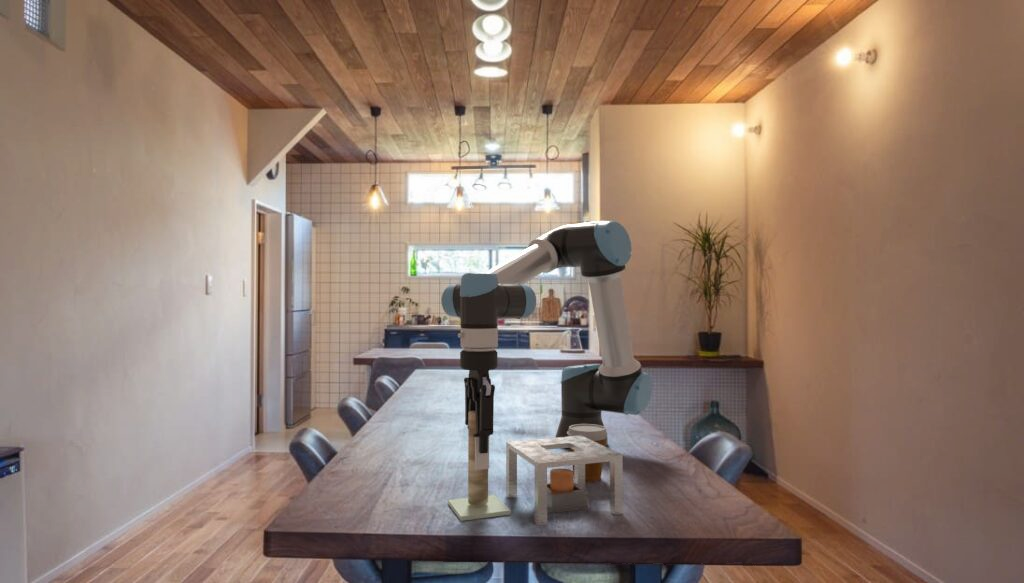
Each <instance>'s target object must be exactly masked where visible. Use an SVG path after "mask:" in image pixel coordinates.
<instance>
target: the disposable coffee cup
mask: <svg viewBox="0 0 1024 583" xmlns="http://www.w3.org/2000/svg"><path fill="white" fill-rule="evenodd" d="M567 434H568V437H569V436H581V435H582V436H584V437H586V438H588V439H590V440H592V441H594V442H596V443H598V444H601V445H603V446H605V440H606V437H607V438H608V434H609V433H608V432H607V428H606V426H605V425H604V426H600V425H595V424H576V425H571V426H569V430H568V431H567ZM570 452H574V450H573V449H572V448H570ZM603 463H604V462H599V463H589V464H585V483H589V484H590V483H597V482H599V481H601V478H602V472H603V471H602V470H603ZM571 467H572V471H573V472H574V465H571Z"/></svg>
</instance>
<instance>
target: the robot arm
mask: <svg viewBox="0 0 1024 583" xmlns="http://www.w3.org/2000/svg"><path fill="white" fill-rule="evenodd" d="M631 252H632V241H631V237H630V236H629V233H628V231H627V229H626V228H625V226H624V225H622V224H621V223H620V222H618V221H617V220H596V221H587V222H580V223H579V222H578V223H569V224H565V225H561V226H558V227H556V228H554V229H551V230H549V231H548V232H545V233H544V234H542V235H540V236H538V237H537V238H535V239H533V240H532V241H531V242H530V243H529V244H528V246H527V248H525V249H524V250H521V251H519V252H518V253H517V254H514V255H513V256H511V257H510V258H507V259H505V260H504V261H501V263H499V264H496V266H493V267H492V268H489V269H488V270H487V271H485V272H466V273H464V274H462V275H461V278H460V284H459V283H456V284H453V285H449V286H447V287H446V288H445V289H444V291H443V292H442V294H441V298H440V300H441V301H440V302H441V307H442V309H443V312H444V313H445V314H446V315H448V316H450V317H452V318H459V319H460V332H459V333H457V337H458V338H460V347H461V349H462V350H460V354H459V355H460V356H459V358H460V359H459V361H460V363H459V367H460V369H462V370H464V371H465V370H467V371H468V377H464V379H463V381H464V382H463V383H464V395H465V396H464V411H465V413H464V414H465V415H464V416H465V419H464V420H465V421H464V424H465V426H468V413H469V411H475V410H476V429H477V434H473V436H474V437H475V469H476V470H480V469H488V470H489V469H490V436H491V435H494V412H495V410H494V403H495V402H494V400H495V399H494V397H495V390H496V385H494V384H492V379H491V378H490V374H489V371H491V370H492V371H493V370H496V369H497V368H498V351H497V350H496V349H497V348H498V347H499V328H498V320H499V319H500V320H502V319H503V320H504V319H505V320H509V319H510V320H512V319H514V320H516V319H517V320H521V319H524V318H525V319H526V318H528V317H530V316H532V314H533V313H534V311H535V310H536V307H537V296H536V295H537V294H536V293H535V291H534V290H533V289H532V287H530V286H528V285H526V283H528V282H530V281H531V280H532V279H534V278H536V277H537V276H540V275H541V274H542V273H543V274H544V273H545V274H547V273H551V272H553V271H554V270H556V269H560V268H571V267H572V268H578V267H579V268H580V273H581V276H582V278H584V279H585V280H587V281H588V284H589V290H590V296H591V302H592V308H593V313H594V320H595V327H596V332H597V338H598V343H599V349H600V355H601V360H602V363H589V364H587V363H586V364H579V365H578V364H576V365H570V366H566V367H564V368H563V369H562V371H561V380H560V384H561V395H560V396H561V402H560V403H561V417H560V421H559V423H558V427H557V429H556V432H555V438H557V437H568V434H567V431H568V430H569V426H571V425H576V424H595V425H600V426H604V427H605V425H604V422H603V418H602V412H607V413H608V412H609V413H614V414H615V413H616V414H622V415H625V416H629V415H631V416H632V415H633V416H637V415H641V414H643V413H644V412H645V411H646V409H647V408H648V407H649V404H650V401H651V399H652V393H653V378H652V377H651V375H650V374H649V373H647V372H644V371H642V365H641V362H640V361H638V359H636V358H635V357H634V349H633V344H632V338H631V330H630V324H629V319H628V313H627V306H626V300H625V292H624V287H623V281H622V274H624V272H625V271H626V264H628V263H629V261H630V259H631V257H632V254H631ZM607 446H608V436H607V437H606V440H605V447H607ZM568 449H570V448H568ZM570 450H571V449H570Z"/></svg>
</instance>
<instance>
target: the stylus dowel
mask: <svg viewBox="0 0 1024 583" xmlns="http://www.w3.org/2000/svg"><path fill="white" fill-rule="evenodd" d="M467 430H468V434H467V435H468V436H467V437H468V441H467V442H468V446H467V447H468V448H467V450H468V451H467V453H468V454H467V455H468V458H467V462H468V463H467V465H468V466H467V469H468V470H467V472H468V473H467V475H468V476H467V487H468V488H467V498H468V503H469V504H471V505H484V504H487V503H488V495H489V469H480V470H476V469H475V437H474V436H473V434H477V429H476V410H475V411H469V413H468V425H467Z"/></svg>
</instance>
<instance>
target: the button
mask: <svg viewBox="0 0 1024 583" xmlns="http://www.w3.org/2000/svg"><path fill="white" fill-rule="evenodd" d="M549 478H550V479H549V480H550V481H549V482H550V489H551V490H552V491H553V492H555V493H557V492H565V491H573V490H574V472H573V469H569V468H559V467H558V468H554V469H551V470H550V473H549Z"/></svg>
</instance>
